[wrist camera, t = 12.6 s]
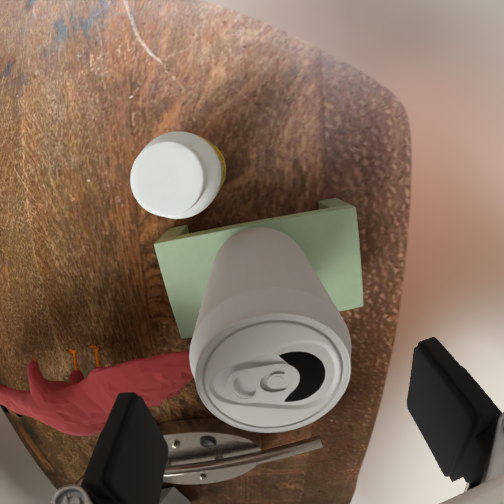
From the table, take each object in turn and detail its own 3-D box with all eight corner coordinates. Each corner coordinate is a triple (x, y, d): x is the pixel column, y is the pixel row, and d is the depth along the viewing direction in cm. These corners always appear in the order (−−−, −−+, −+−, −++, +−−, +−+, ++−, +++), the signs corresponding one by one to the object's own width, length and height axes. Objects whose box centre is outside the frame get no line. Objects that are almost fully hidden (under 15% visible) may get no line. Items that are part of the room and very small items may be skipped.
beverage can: (308, 305, 23) (357, 425, 12) (220, 317, 23) (205, 446, 12) (301, 218, 21) (365, 289, 10) (204, 231, 21) (163, 317, 10)
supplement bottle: (152, 152, 25) (104, 151, 15) (213, 127, 24) (196, 109, 15) (174, 213, 26) (139, 243, 17) (236, 190, 26) (232, 208, 16)
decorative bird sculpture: (228, 331, 34) (172, 286, 21) (248, 415, 30) (199, 430, 16) (39, 369, 36) (-45, 345, 22) (47, 433, 31) (-41, 427, 18)
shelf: (336, 197, 26) (356, 206, 21) (345, 282, 28) (363, 306, 23) (169, 228, 26) (153, 243, 22) (190, 310, 28) (181, 339, 24)
